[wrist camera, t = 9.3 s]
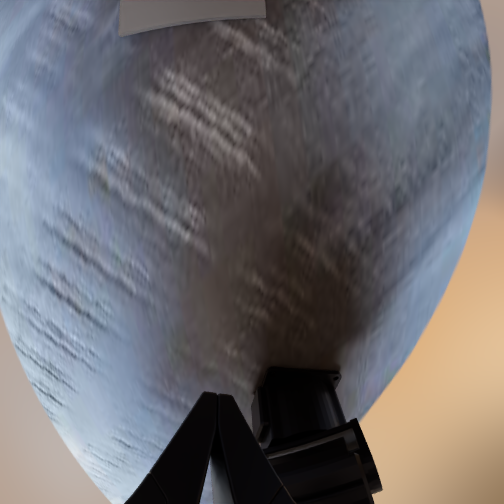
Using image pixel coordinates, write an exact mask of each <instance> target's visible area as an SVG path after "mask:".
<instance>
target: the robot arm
mask: <svg viewBox="0 0 504 504" xmlns="http://www.w3.org/2000/svg"><path fill="white" fill-rule="evenodd" d="M273 372H274V374H271V373H273ZM336 376H337V377H336ZM340 380H341V374H340V372H338V371H322V370H305V369H291V368H279V367H271V368H269V369H267V371H266V374H265V377H264V380H263V383H262V386H261V387H259V388H257V390H256V393H255V396H254V399H253V402H252V405H251V410H252V425H253V433H252V431H251V429H250V427H249V426H248V424H247V422H246V420H245V418H244V416H243V415H242V413H241V411H240V409H239V407H238V405H237V403H236V402H235V400H234V398H233V396H232V395H228V394H218V395H217V394H216V393H213V392H206V391H204V392H203V393H202V394H201V395H200V397H199V398H198V400H197V402H196V403H195V405H194V406H193V408H192V409H191V411H190V412H189V414H188V415H187V417H186V418H185V420H184V421H183V423H182V424H181V426H180V427H179V429H178V430H177V432H176V433H175V435H174V436H173V438H172V439H171V441H170V442H169V444H168V445H167V447H166V448H165V450H164V451H163V452H162V454H161V455H160V457H159V458H158V460H157V461H156V463H155V464H154V466H153V467H152V468H151V470H150V472H149V473H148V474H147V475H146V477H145V478H144V480H143V481H142V482H141V484H140V485H139V486H138V488H137V489H136V490H135V492H134V493H133V494H132V495H131V496H130V498H129V499H128V500H127V501H126V502H125V503H124V504H200V499H201V495H202V491H203V486H204V482H205V478H206V473H207V469H208V465H209V460H210V468H211V481H212V493H213V504H374V501H373V497H372V494H374V493H377V492H380V491H382V490H383V489H382V485H381V481H380V478H379V475H378V472H377V469H376V465H375V463H374V460H373V457H372V455H371V452H370V450H369V447H368V445H367V442H366V440H365V437H364V435H363V432H362V430H361V428H360V425H359V423H358V420H357V418H354V419H352V420H349V421H350V422H346V419H345V416H344V414H343V411H342V408H341V405H340V402H339V399H338V397H337V394H336V391H335V389H336V387H337V386H338V384H339V382H340ZM259 443H261V447H260V445H259Z"/></svg>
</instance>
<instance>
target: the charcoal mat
mask: <svg viewBox="0 0 504 504" xmlns="http://www.w3.org/2000/svg"><path fill="white" fill-rule="evenodd" d="M246 18H266V7H265V0H120V14H119V36H120V37H124V36H128V35H132V34H136V33H140V32H145V31H149V30H154V29H159V28H164V27H170V26H176V25H183V24H190V23H197V22H206V21H216V20H228V19H246Z"/></svg>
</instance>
